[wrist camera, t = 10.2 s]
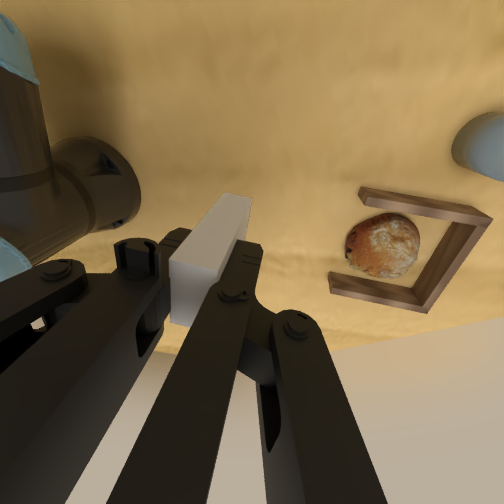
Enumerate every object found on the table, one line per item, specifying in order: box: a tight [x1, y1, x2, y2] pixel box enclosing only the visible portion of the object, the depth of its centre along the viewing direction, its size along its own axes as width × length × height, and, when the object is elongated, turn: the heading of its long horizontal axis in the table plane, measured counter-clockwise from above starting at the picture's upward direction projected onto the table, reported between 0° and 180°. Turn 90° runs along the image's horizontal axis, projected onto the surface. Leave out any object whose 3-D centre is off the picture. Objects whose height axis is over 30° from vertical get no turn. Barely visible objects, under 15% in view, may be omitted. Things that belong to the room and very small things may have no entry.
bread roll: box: [345, 214, 420, 279], centre depth 37 cm, size 10×10×8 cm
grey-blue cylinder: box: [452, 112, 504, 182], centre depth 28 cm, size 6×6×6 cm
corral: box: [328, 187, 493, 314], centre depth 37 cm, size 15×16×4 cm
